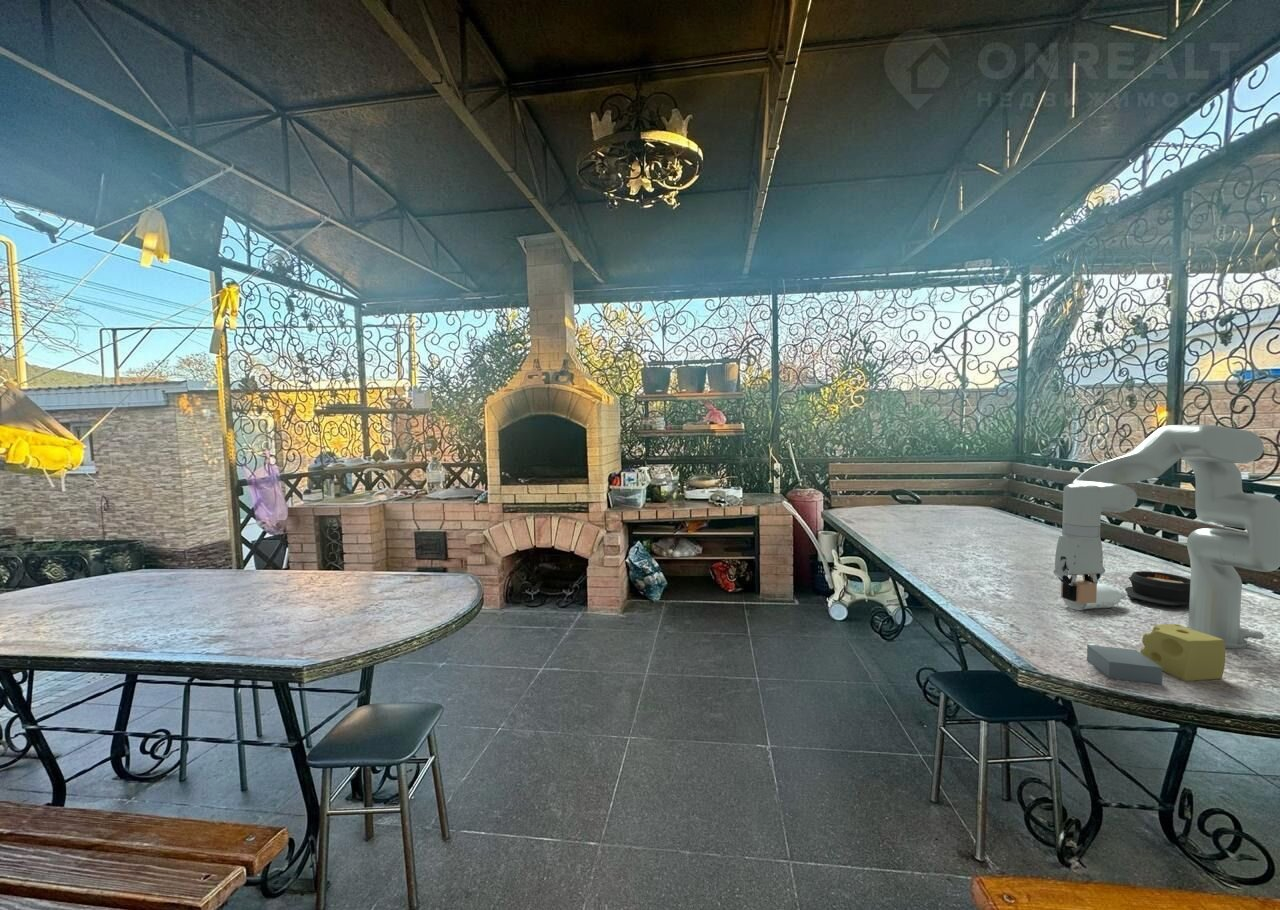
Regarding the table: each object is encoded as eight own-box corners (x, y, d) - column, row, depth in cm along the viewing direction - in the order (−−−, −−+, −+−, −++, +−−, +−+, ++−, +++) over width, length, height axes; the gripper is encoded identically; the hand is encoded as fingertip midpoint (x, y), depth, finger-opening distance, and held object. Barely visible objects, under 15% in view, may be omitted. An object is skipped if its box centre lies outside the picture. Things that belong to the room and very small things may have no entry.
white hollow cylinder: (1132, 610, 165) (1134, 586, 164) (1084, 613, 162) (1085, 589, 161) (1107, 602, 173) (1108, 579, 172) (1060, 605, 170) (1061, 582, 169)
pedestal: (1135, 665, 126) (1136, 649, 126) (1161, 684, 117) (1162, 667, 117) (1086, 659, 130) (1087, 644, 129) (1108, 677, 120) (1109, 661, 120)
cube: (1076, 596, 135) (1077, 578, 135) (1096, 602, 130) (1096, 583, 130) (1060, 597, 134) (1061, 579, 134) (1079, 603, 129) (1080, 584, 129)
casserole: (1140, 587, 188) (1141, 565, 187) (1213, 602, 171) (1214, 578, 171) (1111, 598, 176) (1112, 575, 176) (1186, 615, 160) (1187, 589, 159)
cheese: (1138, 662, 128) (1140, 624, 128) (1176, 660, 129) (1178, 622, 129) (1186, 682, 118) (1188, 641, 117) (1227, 680, 119) (1229, 639, 118)
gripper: (1093, 527, 136) (1091, 592, 137) (1039, 529, 134) (1037, 596, 135) (1123, 532, 129) (1121, 601, 130) (1067, 535, 126) (1064, 605, 127)
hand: (1078, 598), depth 132 cm, fingers closed on cube, 5 cm apart
